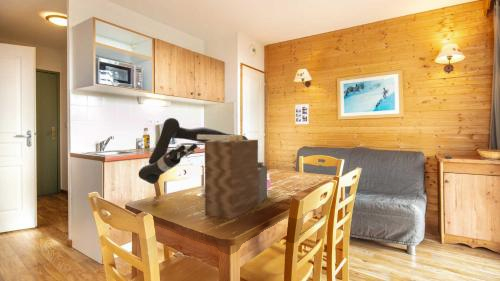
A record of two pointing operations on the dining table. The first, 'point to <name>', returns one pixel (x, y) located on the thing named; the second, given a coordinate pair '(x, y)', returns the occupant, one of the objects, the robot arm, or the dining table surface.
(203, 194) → the teacup and saucer
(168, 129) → the robot arm
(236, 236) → the dining table surface
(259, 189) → the hip flask
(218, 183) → the stand
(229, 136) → the t key
